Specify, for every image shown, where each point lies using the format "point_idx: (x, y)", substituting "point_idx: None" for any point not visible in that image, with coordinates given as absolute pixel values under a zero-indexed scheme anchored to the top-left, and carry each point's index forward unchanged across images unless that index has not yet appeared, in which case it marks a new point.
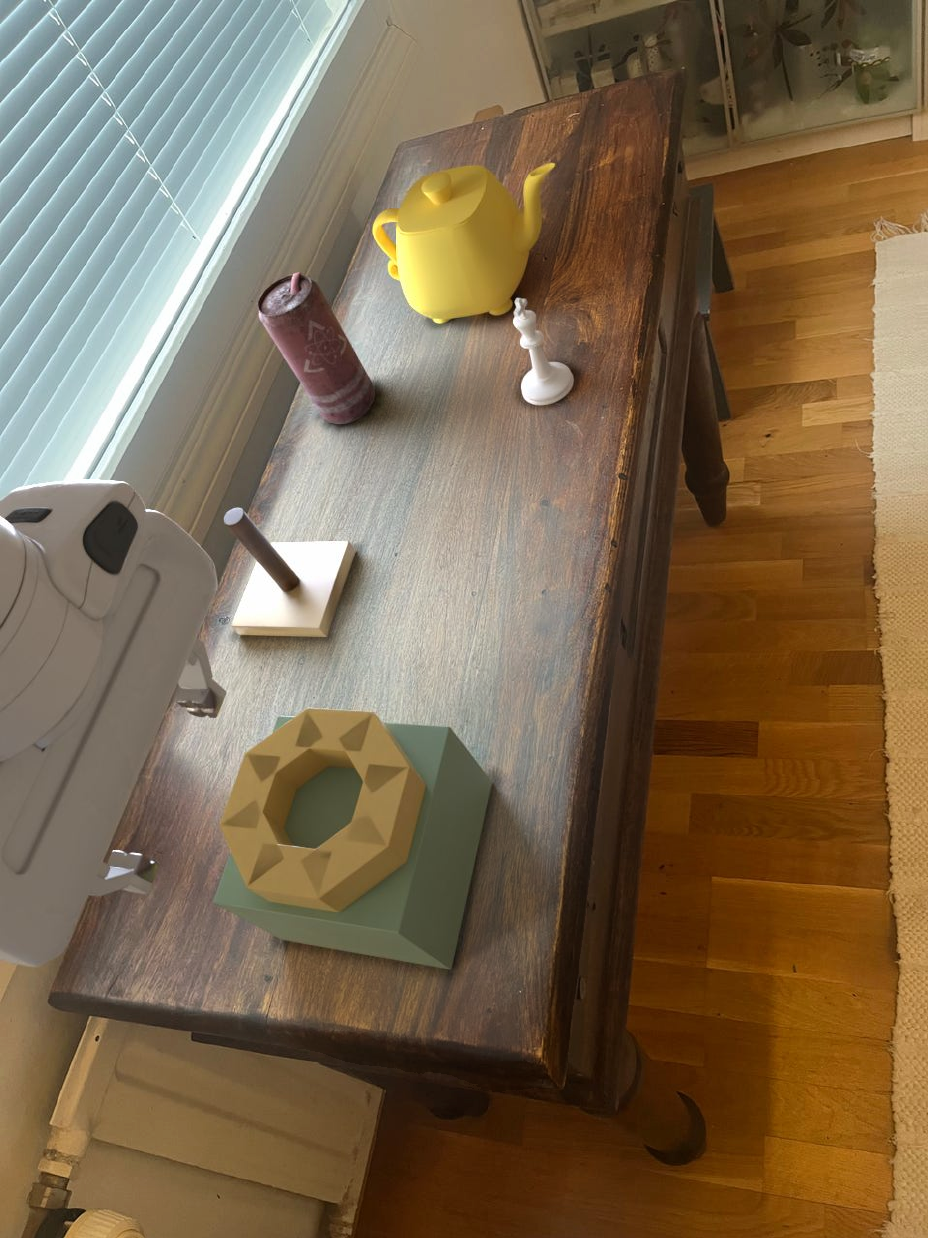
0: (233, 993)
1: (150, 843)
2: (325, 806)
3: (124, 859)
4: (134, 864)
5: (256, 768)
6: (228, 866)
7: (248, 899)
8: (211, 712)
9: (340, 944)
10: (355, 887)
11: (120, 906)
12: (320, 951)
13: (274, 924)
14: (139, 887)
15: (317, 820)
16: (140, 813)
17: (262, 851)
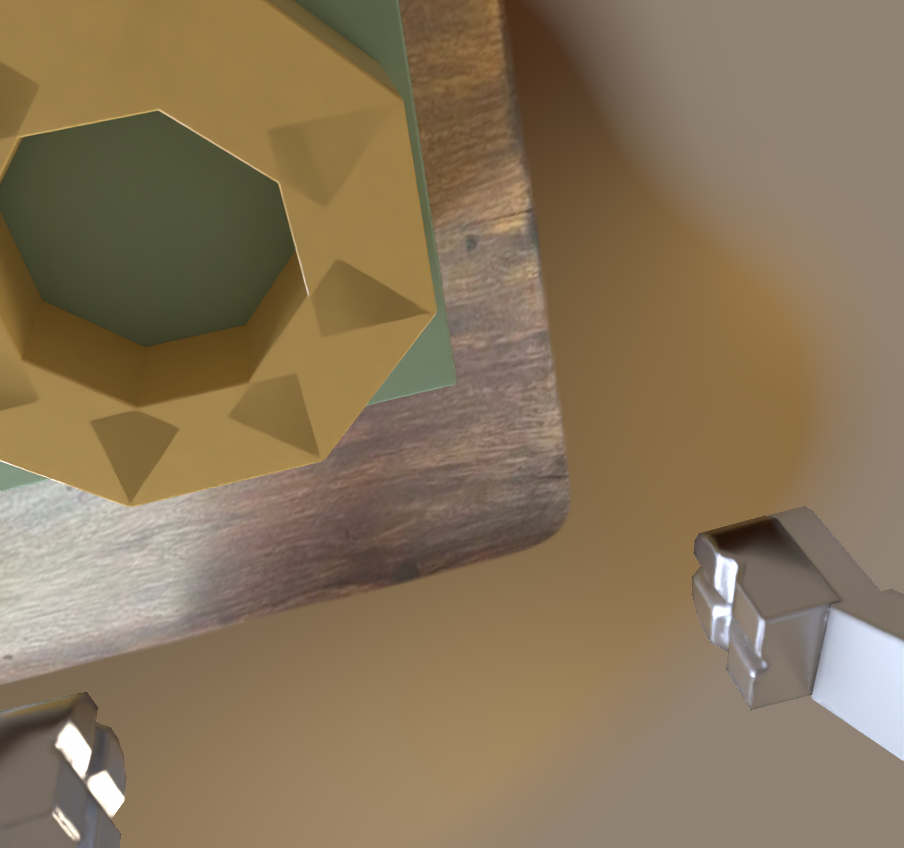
0: (512, 290)
1: (340, 555)
2: (146, 251)
3: (782, 659)
4: (805, 619)
5: (151, 459)
6: (376, 396)
7: None
8: (73, 729)
9: None
10: (318, 26)
11: (446, 536)
12: None
13: None
14: (838, 548)
15: (190, 252)
16: (303, 598)
17: (341, 325)
